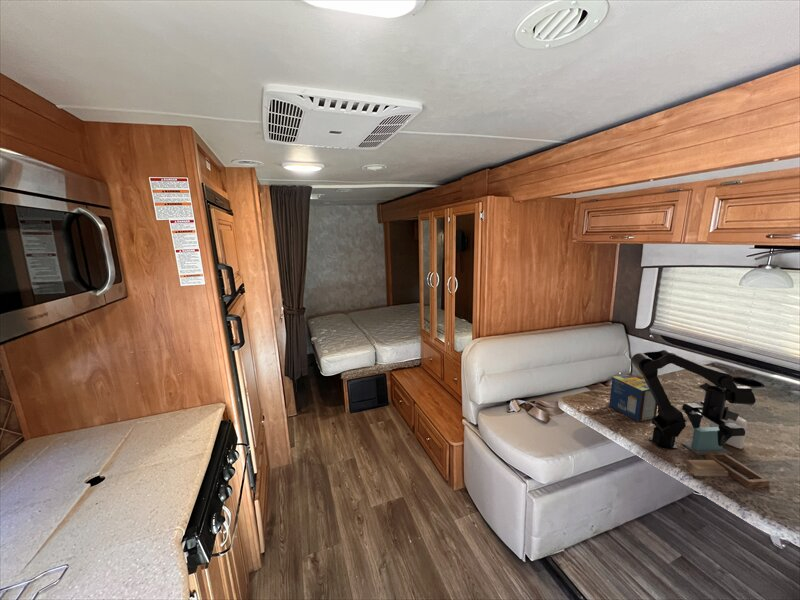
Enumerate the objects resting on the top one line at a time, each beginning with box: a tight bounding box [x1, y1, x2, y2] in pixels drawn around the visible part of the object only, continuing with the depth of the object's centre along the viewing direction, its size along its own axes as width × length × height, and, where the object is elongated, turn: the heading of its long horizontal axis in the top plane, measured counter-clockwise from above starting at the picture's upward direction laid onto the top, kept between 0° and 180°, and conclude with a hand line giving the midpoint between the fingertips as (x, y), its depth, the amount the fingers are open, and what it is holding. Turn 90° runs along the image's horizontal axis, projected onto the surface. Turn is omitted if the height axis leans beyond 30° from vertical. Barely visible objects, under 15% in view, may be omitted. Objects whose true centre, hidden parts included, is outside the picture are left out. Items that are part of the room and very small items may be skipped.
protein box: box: [608, 374, 658, 422], centre depth 147 cm, size 10×15×16 cm
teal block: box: [691, 426, 724, 450], centre depth 120 cm, size 2×10×8 cm, turn 92°
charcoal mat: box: [681, 442, 733, 457], centre depth 121 cm, size 13×7×1 cm, turn 92°
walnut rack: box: [704, 453, 771, 488], centre depth 109 cm, size 7×14×2 cm, turn 2°
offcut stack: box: [682, 459, 730, 477], centre depth 110 cm, size 5×11×3 cm, turn 88°
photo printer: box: [708, 416, 748, 450], centre depth 124 cm, size 10×4×12 cm, turn 29°
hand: (707, 438), depth 120 cm, fingers open, 9 cm apart
